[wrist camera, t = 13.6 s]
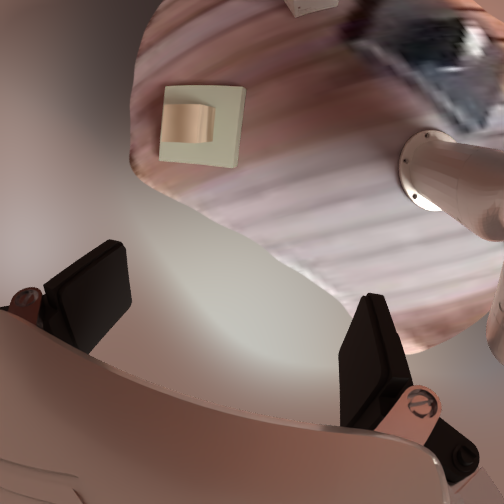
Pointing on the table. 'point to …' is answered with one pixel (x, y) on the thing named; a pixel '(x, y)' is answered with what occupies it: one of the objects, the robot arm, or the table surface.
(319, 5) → the supplement box
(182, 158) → the base
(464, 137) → the table surface
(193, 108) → the birch block
